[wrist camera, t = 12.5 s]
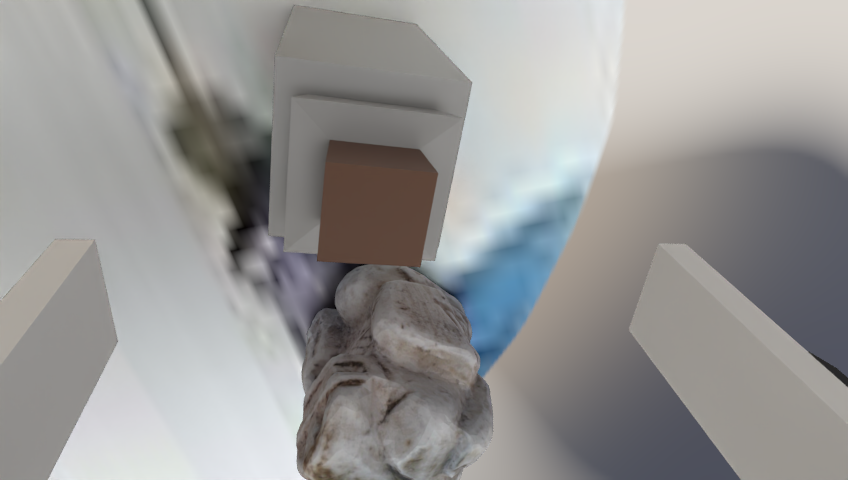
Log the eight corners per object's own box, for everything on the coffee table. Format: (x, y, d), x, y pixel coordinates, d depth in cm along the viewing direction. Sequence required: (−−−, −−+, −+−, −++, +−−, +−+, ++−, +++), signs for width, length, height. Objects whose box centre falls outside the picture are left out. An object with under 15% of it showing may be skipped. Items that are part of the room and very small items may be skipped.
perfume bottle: (293, 4, 29) (261, 90, 14) (416, 24, 31) (509, 121, 15) (287, 126, 33) (255, 305, 17) (399, 138, 34) (462, 313, 19)
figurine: (342, 230, 37) (352, 394, 24) (482, 282, 41) (556, 447, 28) (286, 341, 40) (268, 534, 27) (419, 379, 44) (458, 563, 31)
